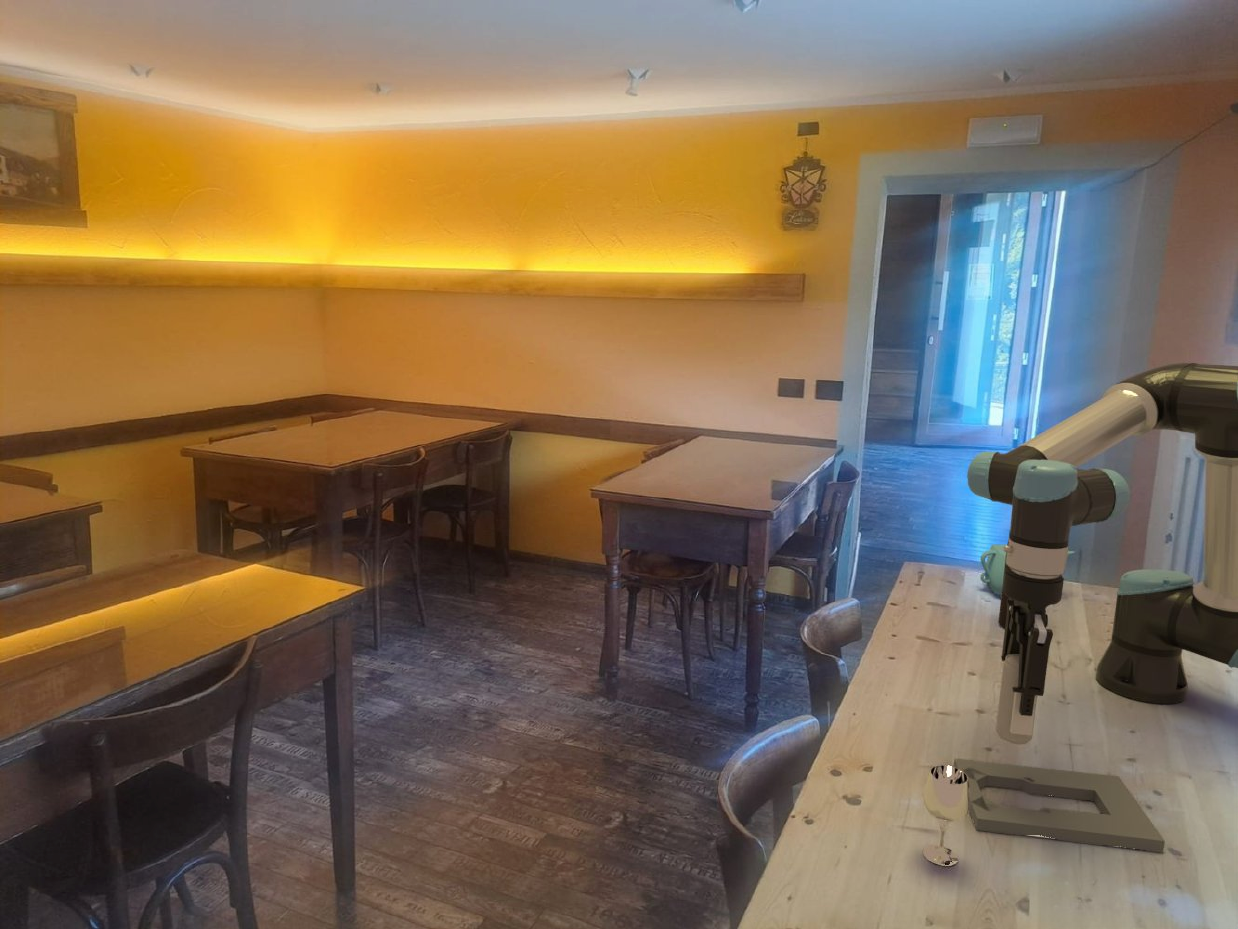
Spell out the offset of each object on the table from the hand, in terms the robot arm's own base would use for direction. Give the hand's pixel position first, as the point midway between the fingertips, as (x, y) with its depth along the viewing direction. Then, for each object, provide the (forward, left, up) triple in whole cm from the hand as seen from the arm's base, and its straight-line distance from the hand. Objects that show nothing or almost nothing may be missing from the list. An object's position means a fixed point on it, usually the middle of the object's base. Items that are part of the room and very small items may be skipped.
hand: (1015, 723), depth 122 cm
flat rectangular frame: (-6, 0, -13) cm, 14 cm away
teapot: (-28, -98, -13) cm, 103 cm away
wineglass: (+12, +15, -13) cm, 23 cm away
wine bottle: (-20, -74, -13) cm, 78 cm away
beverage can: (0, 0, -2) cm, 2 cm away
